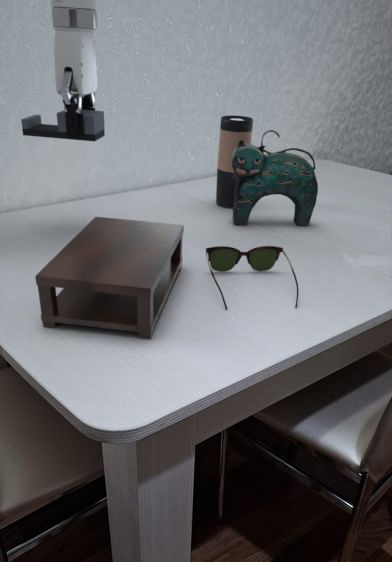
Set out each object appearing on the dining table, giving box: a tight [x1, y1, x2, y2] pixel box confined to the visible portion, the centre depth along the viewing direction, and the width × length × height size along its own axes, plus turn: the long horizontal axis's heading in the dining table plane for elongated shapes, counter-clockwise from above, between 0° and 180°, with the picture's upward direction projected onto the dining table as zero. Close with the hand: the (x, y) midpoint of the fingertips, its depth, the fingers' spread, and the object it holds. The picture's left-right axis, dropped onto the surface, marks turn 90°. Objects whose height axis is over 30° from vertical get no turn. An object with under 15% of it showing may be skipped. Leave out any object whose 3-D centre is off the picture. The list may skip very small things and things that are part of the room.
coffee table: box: [35, 216, 185, 340], centre depth 80 cm, size 16×26×8 cm, turn 172°
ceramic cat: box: [231, 129, 319, 227], centre depth 111 cm, size 20×6×20 cm, turn 95°
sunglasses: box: [205, 245, 299, 310], centre depth 85 cm, size 14×15×5 cm
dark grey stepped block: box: [20, 109, 106, 142], centre depth 96 cm, size 14×7×4 cm, turn 82°
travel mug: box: [215, 114, 254, 209], centre depth 122 cm, size 8×8×20 cm
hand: (81, 131), depth 96 cm, fingers closed on dark grey stepped block, 6 cm apart
